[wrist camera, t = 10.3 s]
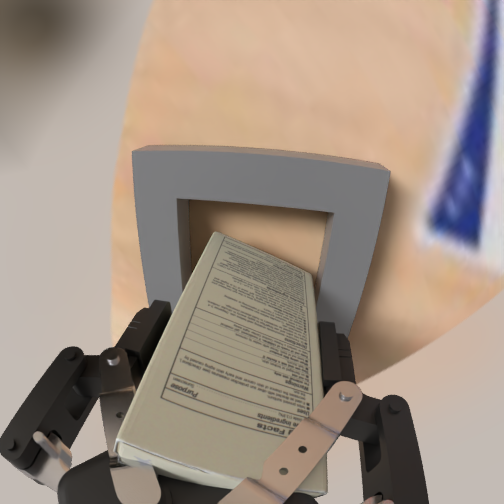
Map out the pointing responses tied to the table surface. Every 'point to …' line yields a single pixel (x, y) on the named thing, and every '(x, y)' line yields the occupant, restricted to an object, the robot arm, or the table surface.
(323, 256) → the holder
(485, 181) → the table surface
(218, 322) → the skincare box
